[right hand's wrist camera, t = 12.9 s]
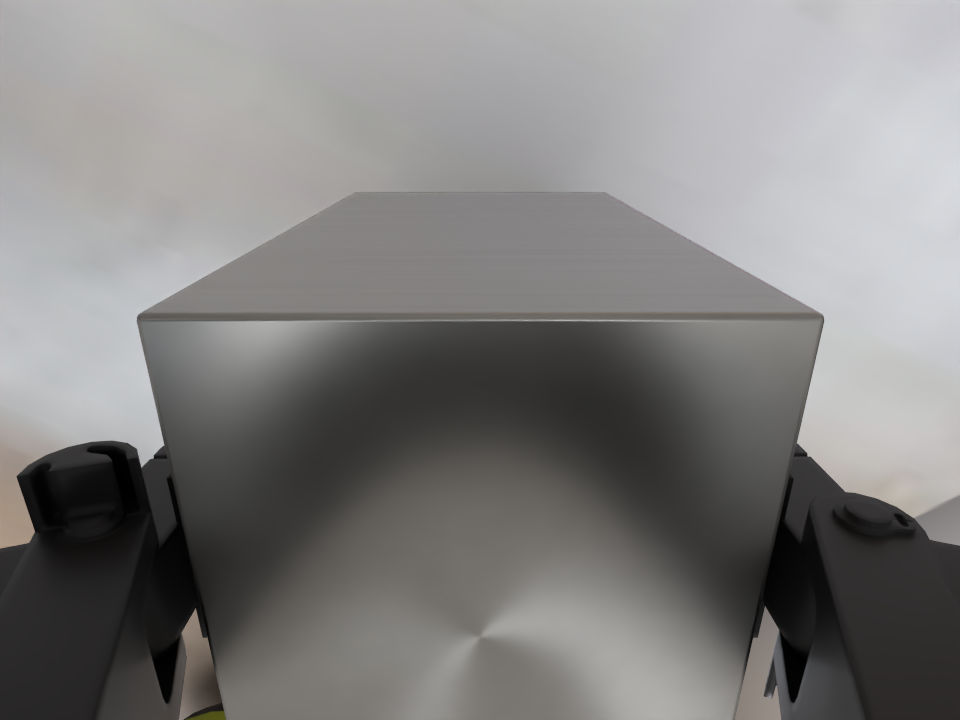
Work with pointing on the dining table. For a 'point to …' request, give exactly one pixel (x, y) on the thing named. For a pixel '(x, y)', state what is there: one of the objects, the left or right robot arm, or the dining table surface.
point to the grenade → (209, 713)
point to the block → (480, 460)
